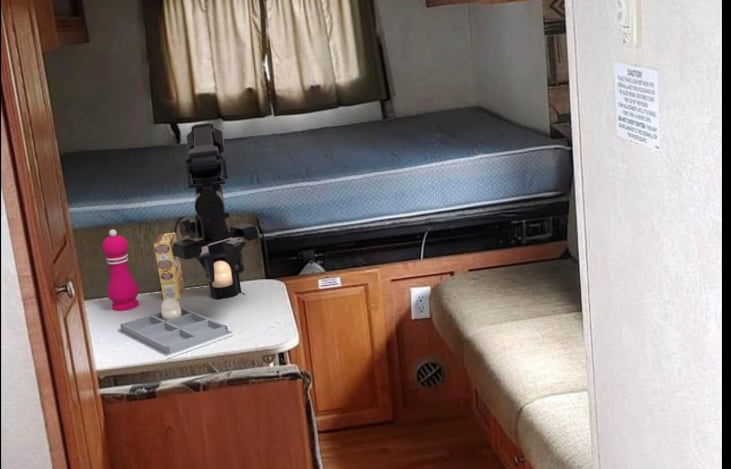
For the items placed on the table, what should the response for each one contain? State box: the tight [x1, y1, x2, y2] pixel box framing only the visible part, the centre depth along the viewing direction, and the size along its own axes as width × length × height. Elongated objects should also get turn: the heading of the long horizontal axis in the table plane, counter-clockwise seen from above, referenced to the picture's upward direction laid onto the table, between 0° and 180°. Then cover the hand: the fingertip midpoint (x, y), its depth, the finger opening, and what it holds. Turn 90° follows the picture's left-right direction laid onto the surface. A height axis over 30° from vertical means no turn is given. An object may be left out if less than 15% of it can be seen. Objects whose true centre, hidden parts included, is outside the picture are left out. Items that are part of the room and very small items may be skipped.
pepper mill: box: [101, 228, 140, 312], centre depth 227 cm, size 7×7×20 cm
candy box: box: [153, 232, 185, 301], centre depth 233 cm, size 9×4×15 cm, turn 2°
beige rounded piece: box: [212, 261, 233, 287], centre depth 207 cm, size 4×4×5 cm
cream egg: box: [160, 298, 182, 321], centre depth 216 cm, size 4×4×5 cm
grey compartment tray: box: [117, 306, 234, 360], centre depth 209 cm, size 16×23×2 cm
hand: (221, 278), depth 207 cm, fingers closed on beige rounded piece, 4 cm apart
